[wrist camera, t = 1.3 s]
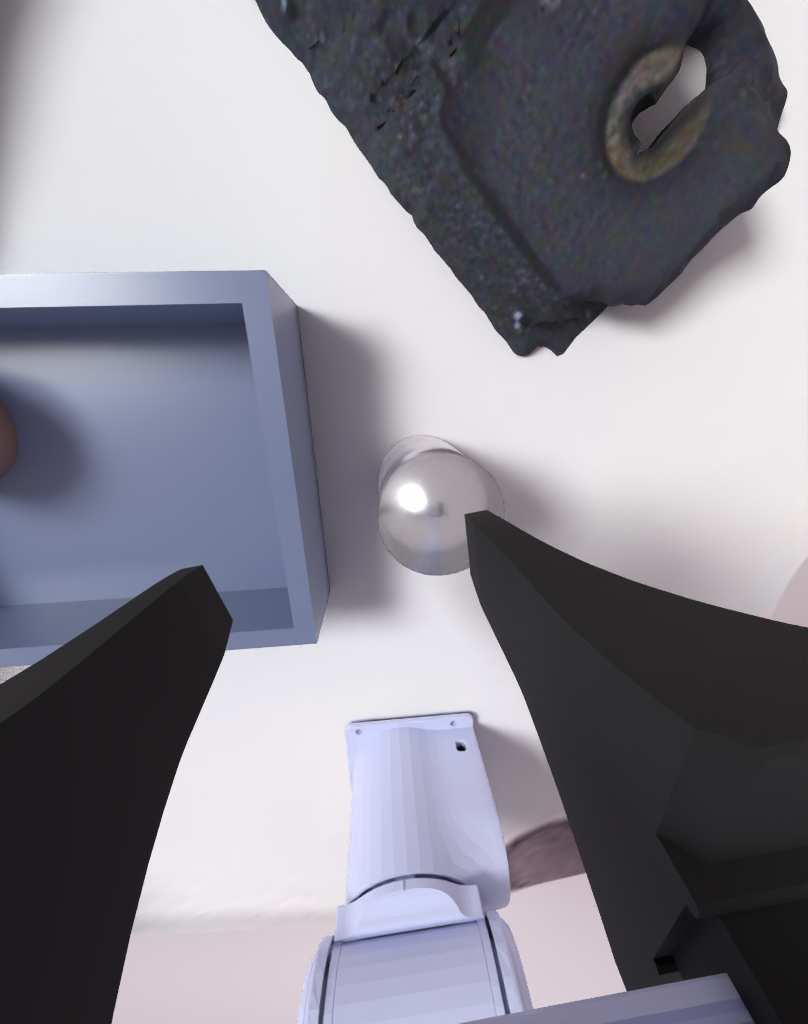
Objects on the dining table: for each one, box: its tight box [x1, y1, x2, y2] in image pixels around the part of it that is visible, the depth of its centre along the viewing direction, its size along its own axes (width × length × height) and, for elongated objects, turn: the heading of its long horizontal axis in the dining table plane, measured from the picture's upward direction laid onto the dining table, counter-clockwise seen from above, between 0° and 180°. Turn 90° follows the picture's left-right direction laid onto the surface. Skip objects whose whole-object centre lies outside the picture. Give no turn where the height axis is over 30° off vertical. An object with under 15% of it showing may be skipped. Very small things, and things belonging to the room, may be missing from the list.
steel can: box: [378, 435, 504, 575], centre depth 17 cm, size 5×5×7 cm
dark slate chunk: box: [256, 0, 791, 356], centre depth 13 cm, size 15×22×5 cm
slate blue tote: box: [0, 270, 330, 667], centre depth 17 cm, size 22×16×5 cm
